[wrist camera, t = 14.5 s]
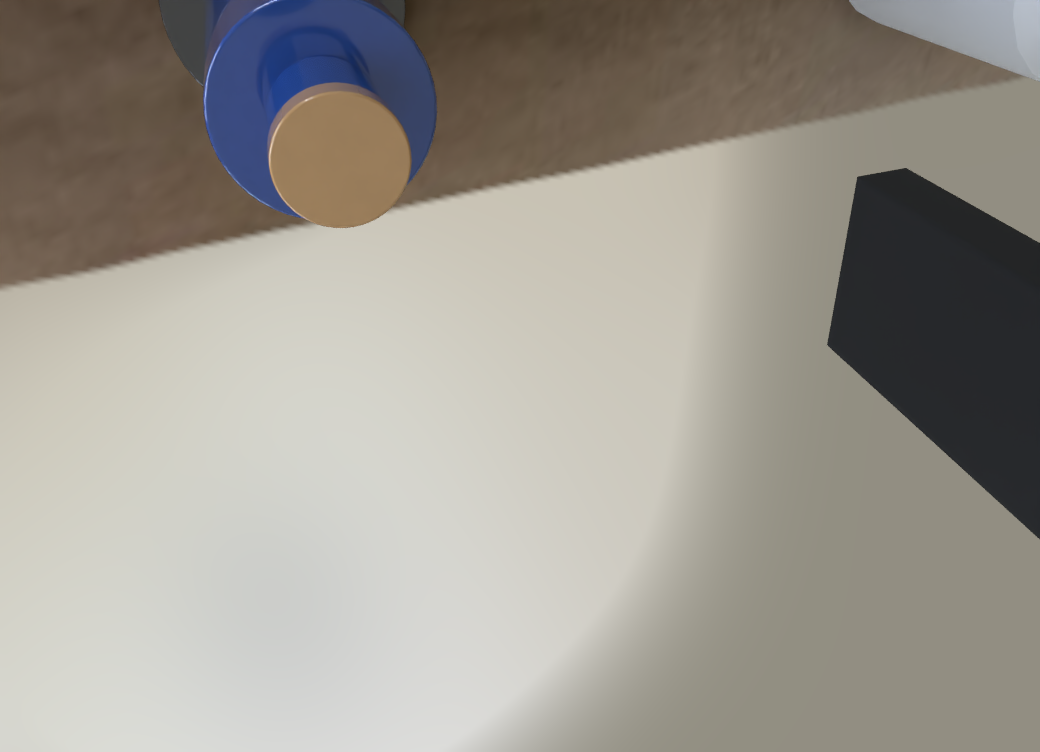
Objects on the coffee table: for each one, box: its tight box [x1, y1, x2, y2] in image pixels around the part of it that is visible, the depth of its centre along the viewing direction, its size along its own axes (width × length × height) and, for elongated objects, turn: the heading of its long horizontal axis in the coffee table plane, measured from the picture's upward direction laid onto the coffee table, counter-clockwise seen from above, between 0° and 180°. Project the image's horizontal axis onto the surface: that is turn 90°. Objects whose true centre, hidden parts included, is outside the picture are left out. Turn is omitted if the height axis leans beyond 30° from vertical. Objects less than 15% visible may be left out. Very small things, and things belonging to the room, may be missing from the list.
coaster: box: [159, 0, 405, 86], centre depth 30 cm, size 8×8×1 cm
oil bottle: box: [203, 0, 437, 228], centre depth 24 cm, size 5×5×15 cm
